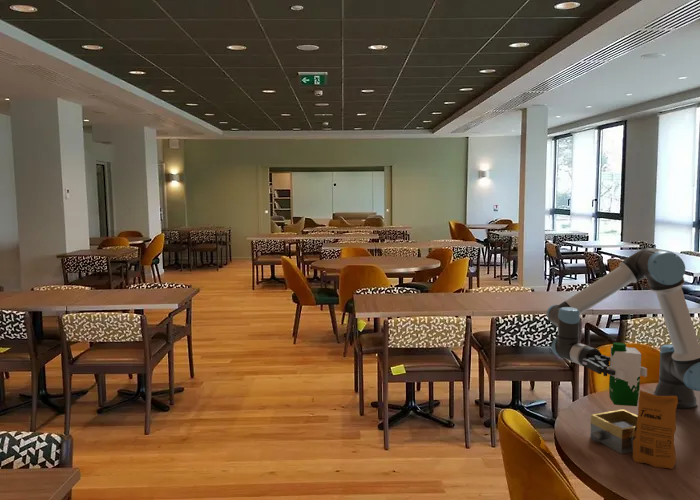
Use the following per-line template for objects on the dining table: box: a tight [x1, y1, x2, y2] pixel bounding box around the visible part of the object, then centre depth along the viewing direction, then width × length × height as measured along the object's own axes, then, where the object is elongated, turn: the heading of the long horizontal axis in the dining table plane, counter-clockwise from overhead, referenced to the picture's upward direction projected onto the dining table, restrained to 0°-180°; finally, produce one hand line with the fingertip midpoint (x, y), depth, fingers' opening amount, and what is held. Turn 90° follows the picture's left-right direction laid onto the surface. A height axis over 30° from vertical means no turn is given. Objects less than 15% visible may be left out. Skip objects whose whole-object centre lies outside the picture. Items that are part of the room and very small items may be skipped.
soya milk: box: [608, 341, 642, 407], centre depth 199 cm, size 9×9×20 cm
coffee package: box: [632, 389, 678, 469], centre depth 187 cm, size 10×12×22 cm
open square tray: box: [590, 408, 638, 455], centre depth 201 cm, size 17×14×8 cm
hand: (635, 374), depth 195 cm, fingers closed on soya milk, 8 cm apart
